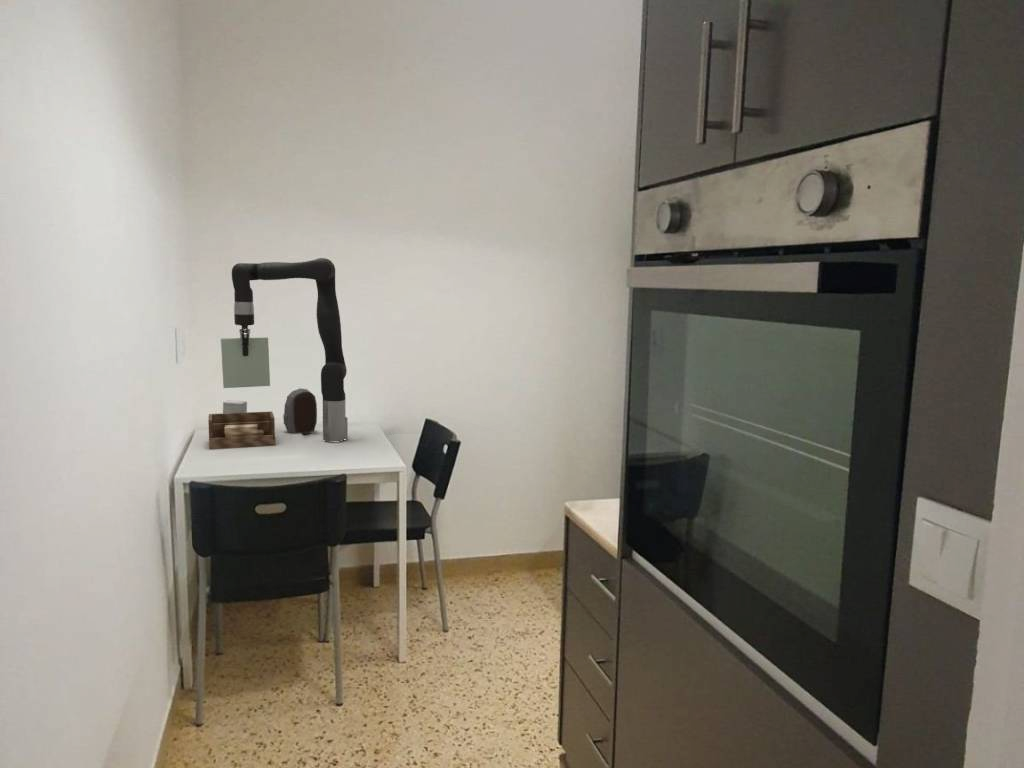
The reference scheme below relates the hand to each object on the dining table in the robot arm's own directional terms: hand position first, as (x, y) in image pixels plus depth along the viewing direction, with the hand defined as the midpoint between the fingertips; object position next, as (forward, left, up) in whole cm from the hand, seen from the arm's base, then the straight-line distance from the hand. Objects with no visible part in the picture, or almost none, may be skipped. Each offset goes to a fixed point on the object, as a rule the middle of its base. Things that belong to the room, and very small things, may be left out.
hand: (245, 355), depth 297 cm
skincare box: (+2, -8, -35) cm, 36 cm away
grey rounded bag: (-22, +3, -35) cm, 42 cm away
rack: (+7, +12, -35) cm, 38 cm away
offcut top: (+8, +14, -28) cm, 33 cm away
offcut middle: (+7, +14, -31) cm, 35 cm away
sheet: (0, 0, -13) cm, 13 cm away
